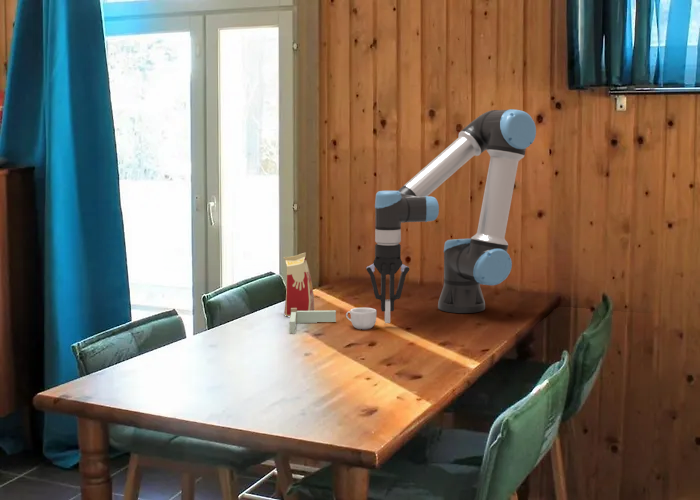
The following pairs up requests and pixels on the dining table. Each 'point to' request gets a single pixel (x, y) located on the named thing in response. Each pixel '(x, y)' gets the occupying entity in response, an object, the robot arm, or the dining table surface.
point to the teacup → (362, 317)
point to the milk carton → (298, 285)
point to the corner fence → (310, 317)
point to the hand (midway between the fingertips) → (387, 321)
